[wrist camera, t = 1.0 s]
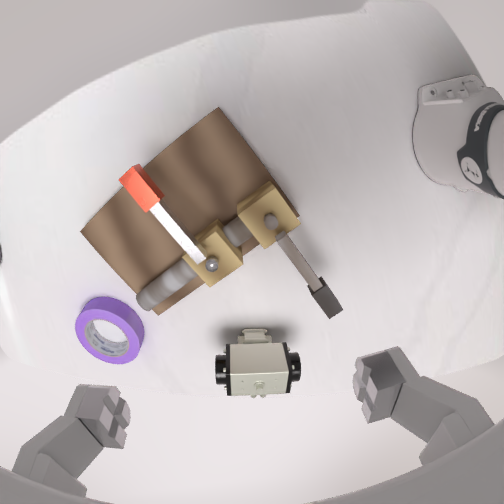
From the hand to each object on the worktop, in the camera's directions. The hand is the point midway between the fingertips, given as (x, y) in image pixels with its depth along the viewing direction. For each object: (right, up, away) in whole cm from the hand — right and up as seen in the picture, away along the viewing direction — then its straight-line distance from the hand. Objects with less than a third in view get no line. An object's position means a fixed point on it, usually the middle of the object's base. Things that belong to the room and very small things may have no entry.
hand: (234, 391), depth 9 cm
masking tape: (-23, -8, +36) cm, 44 cm away
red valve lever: (-8, +8, +22) cm, 25 cm away
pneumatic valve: (+1, -9, +38) cm, 39 cm away
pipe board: (-6, +5, +31) cm, 32 cm away
